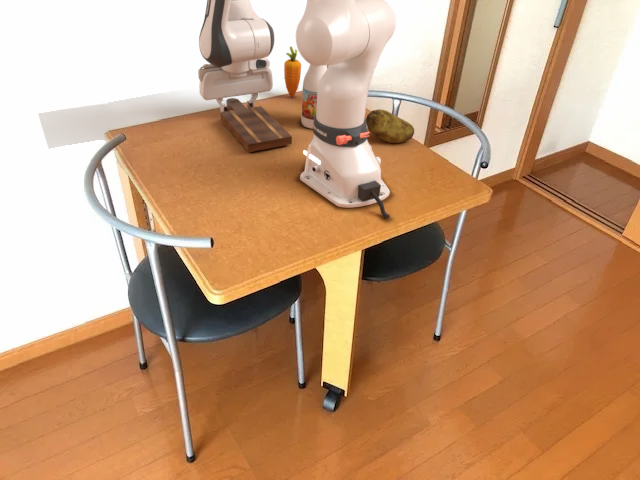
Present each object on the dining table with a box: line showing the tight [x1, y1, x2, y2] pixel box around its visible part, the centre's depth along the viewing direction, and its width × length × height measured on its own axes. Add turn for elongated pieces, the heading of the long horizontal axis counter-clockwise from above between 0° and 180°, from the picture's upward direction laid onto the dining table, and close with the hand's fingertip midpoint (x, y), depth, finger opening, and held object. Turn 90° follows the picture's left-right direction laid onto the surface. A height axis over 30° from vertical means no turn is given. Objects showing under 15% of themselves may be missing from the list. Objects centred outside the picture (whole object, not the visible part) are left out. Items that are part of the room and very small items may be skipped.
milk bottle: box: [300, 63, 327, 130], centre depth 148 cm, size 8×8×20 cm
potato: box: [365, 108, 415, 144], centre depth 147 cm, size 8×13×8 cm, turn 73°
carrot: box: [283, 46, 302, 98], centre depth 164 cm, size 5×5×15 cm
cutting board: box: [219, 97, 293, 153], centre depth 149 cm, size 28×12×3 cm, turn 28°
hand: (237, 109), depth 155 cm, fingers open, 7 cm apart
